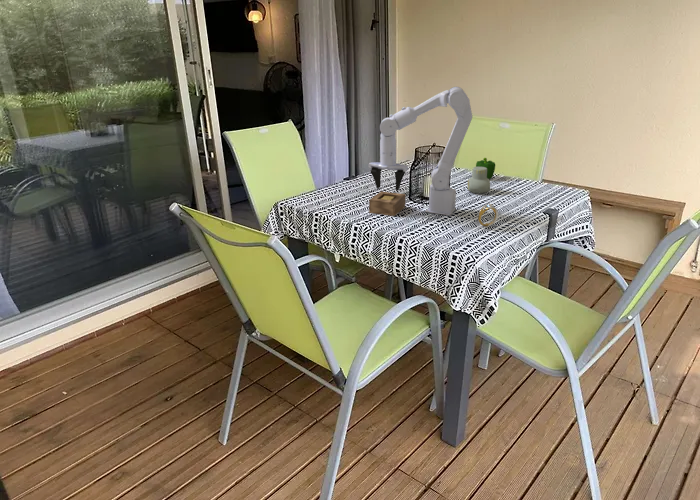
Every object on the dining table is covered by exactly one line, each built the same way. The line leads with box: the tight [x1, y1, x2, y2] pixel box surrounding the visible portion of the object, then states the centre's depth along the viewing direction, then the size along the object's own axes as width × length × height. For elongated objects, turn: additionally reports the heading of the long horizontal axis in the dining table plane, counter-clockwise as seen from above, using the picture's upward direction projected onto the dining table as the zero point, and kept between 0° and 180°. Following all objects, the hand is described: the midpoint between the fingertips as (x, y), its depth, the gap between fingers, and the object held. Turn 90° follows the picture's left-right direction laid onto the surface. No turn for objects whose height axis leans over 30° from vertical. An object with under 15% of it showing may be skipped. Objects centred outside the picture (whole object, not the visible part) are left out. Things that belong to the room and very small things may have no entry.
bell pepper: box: [475, 157, 496, 180], centre depth 229 cm, size 8×8×10 cm
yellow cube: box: [381, 196, 395, 200], centre depth 192 cm, size 4×5×4 cm
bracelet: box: [477, 203, 499, 228], centre depth 173 cm, size 7×3×8 cm, turn 99°
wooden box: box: [368, 191, 407, 217], centre depth 192 cm, size 10×12×5 cm
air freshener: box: [467, 166, 491, 194], centre depth 210 cm, size 11×8×10 cm
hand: (387, 188), depth 190 cm, fingers open, 7 cm apart
